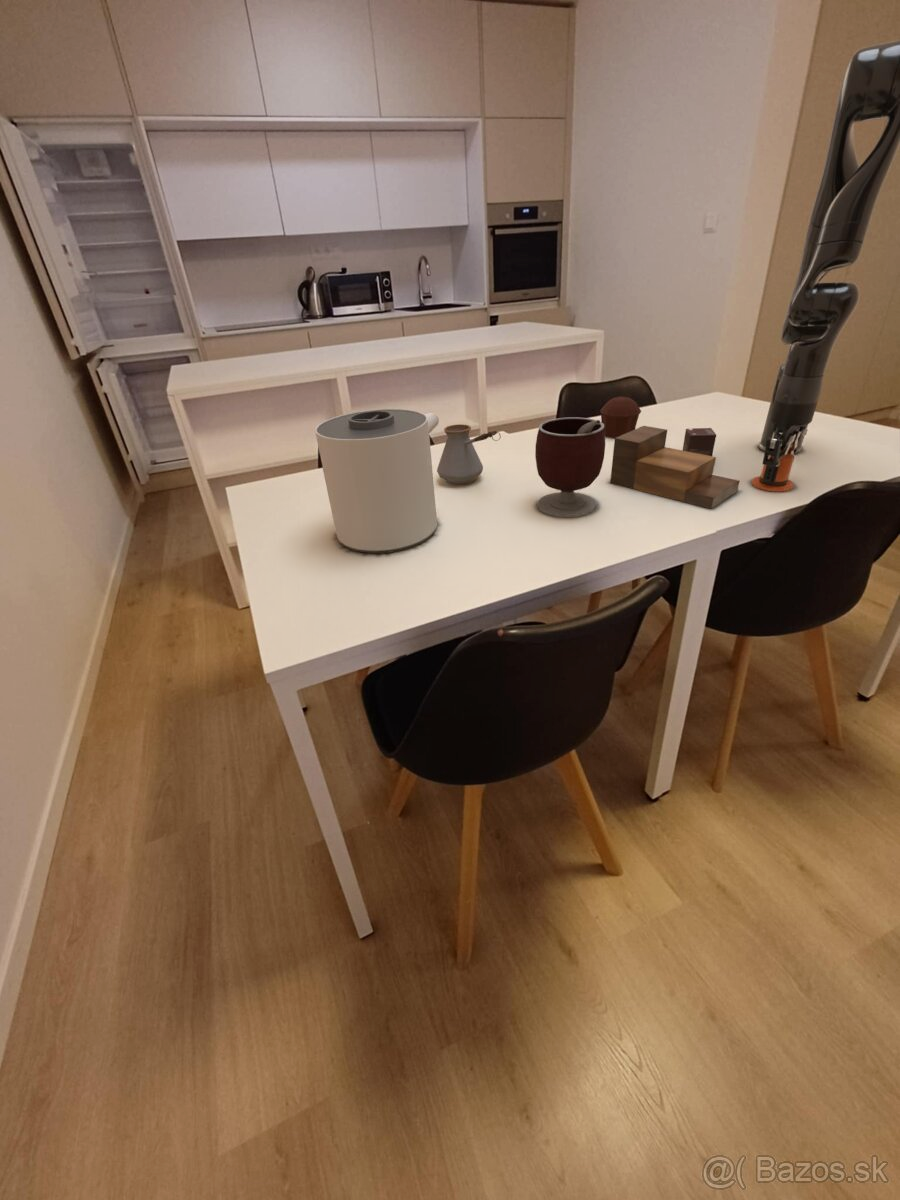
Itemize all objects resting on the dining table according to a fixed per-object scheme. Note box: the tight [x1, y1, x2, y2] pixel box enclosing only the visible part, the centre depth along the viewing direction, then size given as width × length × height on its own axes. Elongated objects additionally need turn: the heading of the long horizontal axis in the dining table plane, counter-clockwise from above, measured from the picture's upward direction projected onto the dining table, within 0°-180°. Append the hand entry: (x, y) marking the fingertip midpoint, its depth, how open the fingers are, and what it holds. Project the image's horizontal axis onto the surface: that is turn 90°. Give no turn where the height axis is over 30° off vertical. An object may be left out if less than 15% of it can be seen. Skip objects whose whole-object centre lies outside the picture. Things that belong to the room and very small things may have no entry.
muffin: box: [599, 396, 642, 439], centre depth 152 cm, size 12×11×10 cm
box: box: [681, 427, 717, 456], centre depth 129 cm, size 6×6×7 cm
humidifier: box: [314, 408, 440, 554], centre depth 104 cm, size 22×21×23 cm
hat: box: [751, 453, 795, 493], centre depth 114 cm, size 8×8×7 cm
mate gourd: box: [534, 416, 606, 518], centre depth 108 cm, size 16×14×20 cm
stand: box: [609, 425, 741, 510], centre depth 116 cm, size 12×24×10 cm, turn 42°
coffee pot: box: [436, 423, 502, 486], centre depth 124 cm, size 21×12×15 cm, turn 33°
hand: (774, 478), depth 115 cm, fingers closed on hat, 5 cm apart
